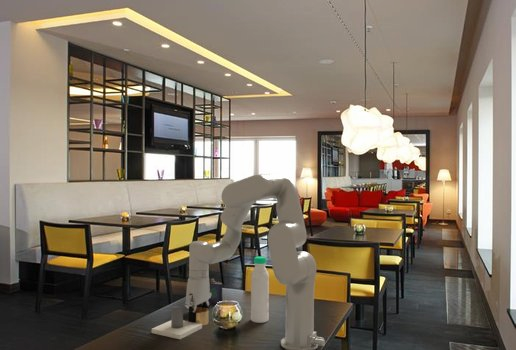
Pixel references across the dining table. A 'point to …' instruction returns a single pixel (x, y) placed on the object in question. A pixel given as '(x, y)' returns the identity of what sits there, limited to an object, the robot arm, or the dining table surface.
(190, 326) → the stand
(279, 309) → the dining table surface
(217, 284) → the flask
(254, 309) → the water bottle
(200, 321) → the collar
